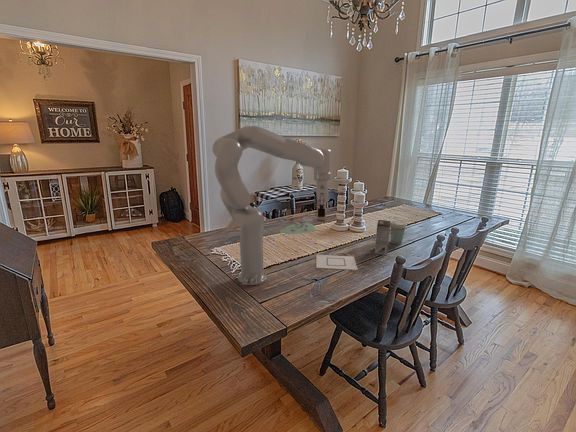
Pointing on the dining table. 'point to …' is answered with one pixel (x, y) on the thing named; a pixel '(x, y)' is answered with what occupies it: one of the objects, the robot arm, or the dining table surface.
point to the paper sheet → (336, 262)
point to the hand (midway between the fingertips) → (321, 214)
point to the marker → (319, 219)
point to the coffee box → (382, 237)
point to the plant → (299, 228)
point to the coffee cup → (397, 232)
